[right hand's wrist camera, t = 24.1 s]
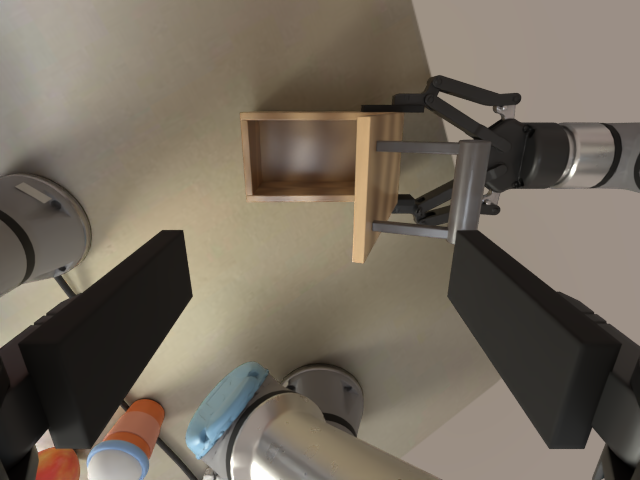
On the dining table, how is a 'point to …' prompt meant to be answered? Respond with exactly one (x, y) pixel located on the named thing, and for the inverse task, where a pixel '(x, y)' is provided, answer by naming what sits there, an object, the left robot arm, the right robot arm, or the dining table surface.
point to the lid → (383, 181)
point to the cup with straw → (127, 444)
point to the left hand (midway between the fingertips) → (360, 156)
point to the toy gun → (211, 475)
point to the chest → (300, 155)
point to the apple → (58, 465)
